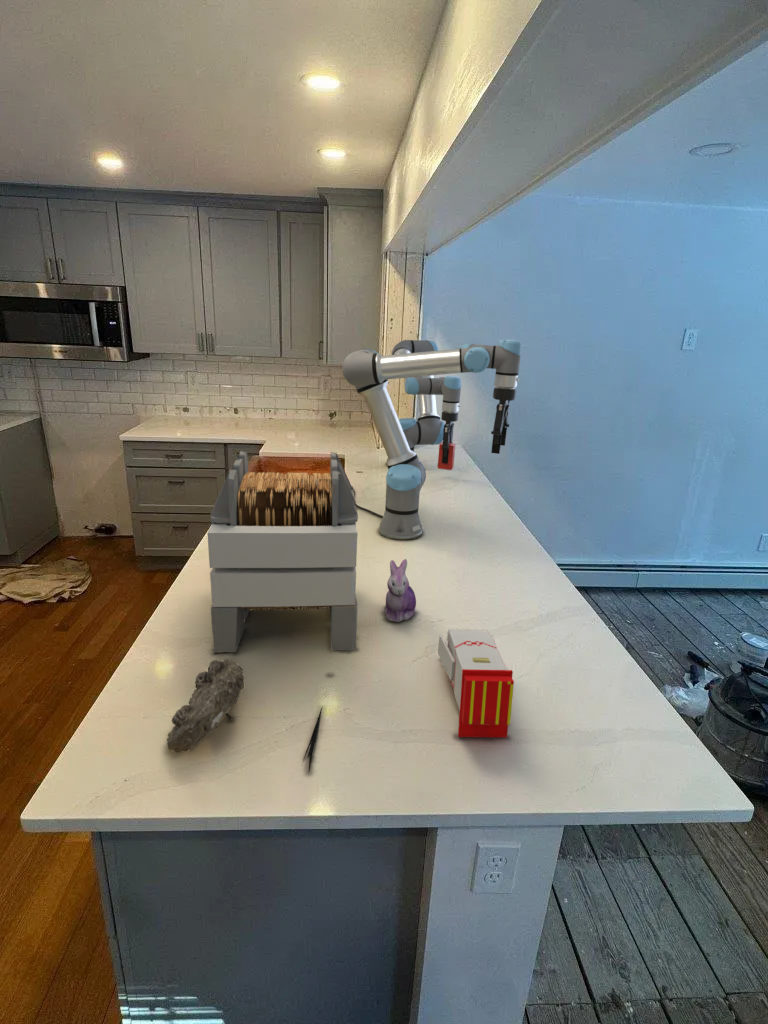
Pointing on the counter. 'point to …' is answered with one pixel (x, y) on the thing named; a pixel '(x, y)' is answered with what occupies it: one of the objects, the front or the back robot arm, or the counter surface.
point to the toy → (478, 682)
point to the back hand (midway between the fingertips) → (445, 461)
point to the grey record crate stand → (283, 549)
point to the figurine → (399, 594)
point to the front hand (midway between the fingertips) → (498, 449)
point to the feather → (313, 740)
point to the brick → (450, 457)
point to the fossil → (206, 705)
